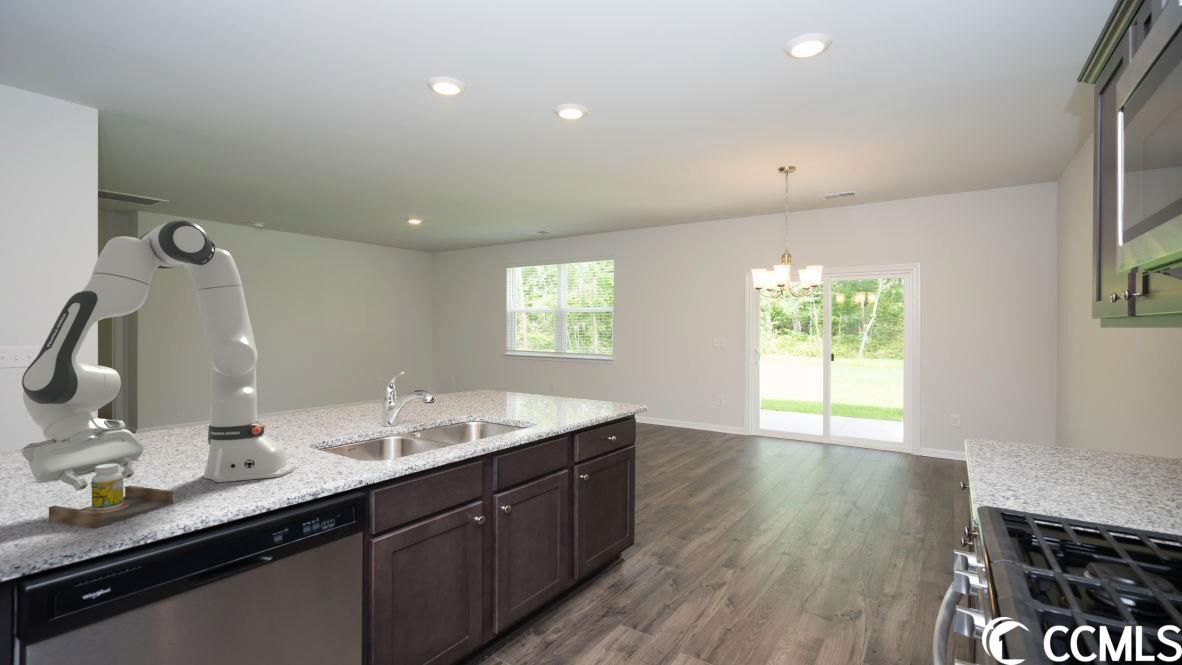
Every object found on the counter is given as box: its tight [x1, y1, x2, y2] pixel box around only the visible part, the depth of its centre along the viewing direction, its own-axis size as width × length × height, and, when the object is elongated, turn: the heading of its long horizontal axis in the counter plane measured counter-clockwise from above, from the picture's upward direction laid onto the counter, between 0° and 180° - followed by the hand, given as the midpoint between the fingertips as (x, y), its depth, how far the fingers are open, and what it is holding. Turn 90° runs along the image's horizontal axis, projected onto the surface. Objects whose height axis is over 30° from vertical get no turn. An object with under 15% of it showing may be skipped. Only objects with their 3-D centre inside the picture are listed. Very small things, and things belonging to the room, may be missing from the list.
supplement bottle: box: [90, 463, 124, 511], centre depth 122 cm, size 5×5×10 cm
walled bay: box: [48, 485, 174, 529], centre depth 122 cm, size 14×16×3 cm
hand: (106, 481), depth 122 cm, fingers open, 8 cm apart
